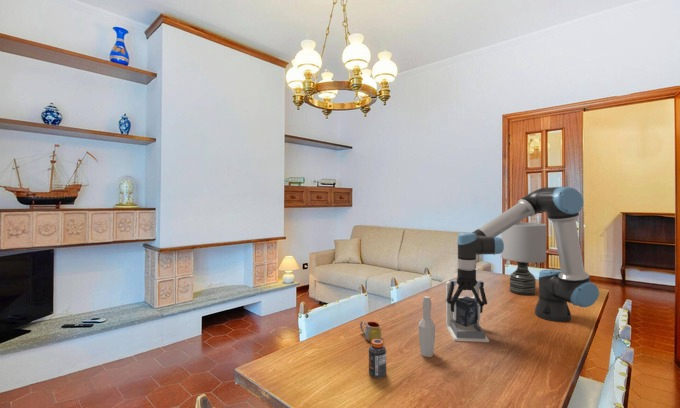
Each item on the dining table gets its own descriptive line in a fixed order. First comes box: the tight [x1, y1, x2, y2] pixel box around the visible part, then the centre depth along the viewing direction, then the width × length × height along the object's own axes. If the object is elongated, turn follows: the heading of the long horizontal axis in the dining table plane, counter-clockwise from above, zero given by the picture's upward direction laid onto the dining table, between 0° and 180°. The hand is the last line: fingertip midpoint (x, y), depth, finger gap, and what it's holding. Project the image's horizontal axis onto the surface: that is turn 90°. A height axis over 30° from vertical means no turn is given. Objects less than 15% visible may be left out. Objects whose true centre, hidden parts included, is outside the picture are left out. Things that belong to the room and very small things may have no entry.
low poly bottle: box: [418, 295, 436, 358], centre depth 124 cm, size 6×6×22 cm
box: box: [456, 295, 477, 327], centre depth 142 cm, size 8×6×11 cm
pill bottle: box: [368, 339, 387, 379], centre depth 111 cm, size 6×6×11 cm
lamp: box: [500, 221, 547, 297], centre depth 201 cm, size 24×24×42 cm
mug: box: [359, 320, 383, 343], centre depth 140 cm, size 12×7×7 cm, turn 33°
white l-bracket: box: [445, 280, 490, 343], centre depth 142 cm, size 15×16×21 cm
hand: (466, 319), depth 142 cm, fingers closed on box, 9 cm apart
